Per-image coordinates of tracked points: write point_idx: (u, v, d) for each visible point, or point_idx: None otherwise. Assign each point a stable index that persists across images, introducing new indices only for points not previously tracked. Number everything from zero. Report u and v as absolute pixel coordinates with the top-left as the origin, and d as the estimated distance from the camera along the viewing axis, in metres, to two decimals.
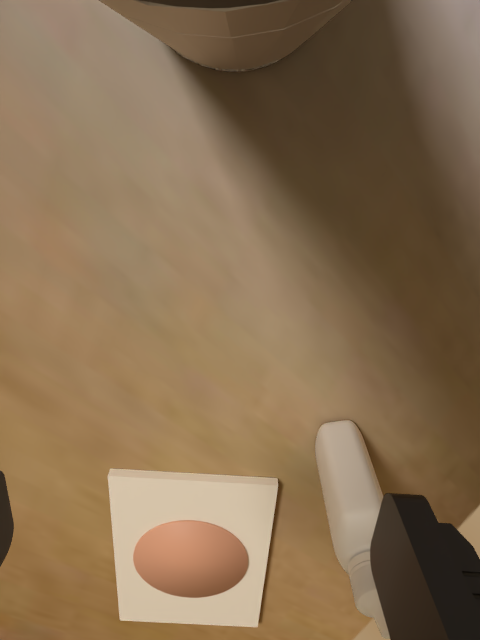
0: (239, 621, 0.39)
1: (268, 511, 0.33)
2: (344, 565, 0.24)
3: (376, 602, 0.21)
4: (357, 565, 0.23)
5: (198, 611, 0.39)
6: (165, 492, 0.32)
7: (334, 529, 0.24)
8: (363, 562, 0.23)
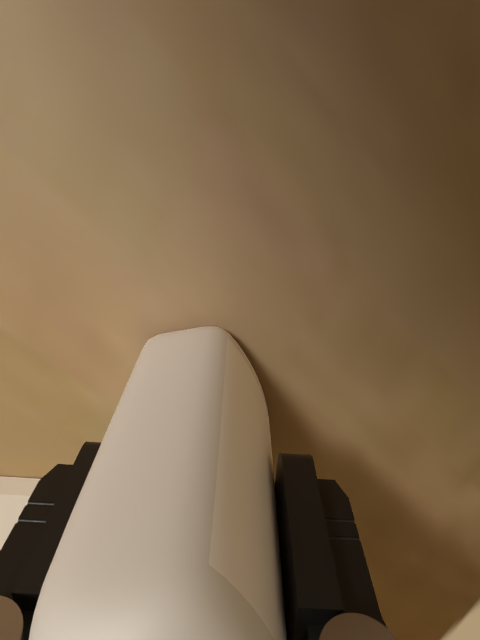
0: None
1: None
2: None
3: None
4: None
5: None
6: None
7: None
8: None
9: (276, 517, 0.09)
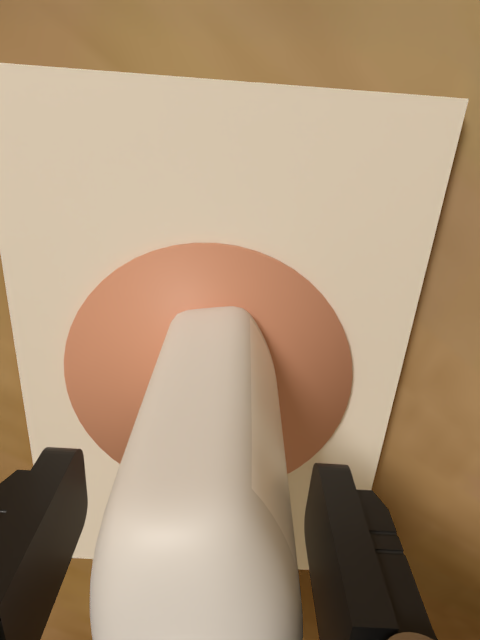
0: None
1: (426, 206, 0.12)
2: None
3: None
4: None
5: None
6: (141, 132, 0.11)
7: None
8: None
9: None
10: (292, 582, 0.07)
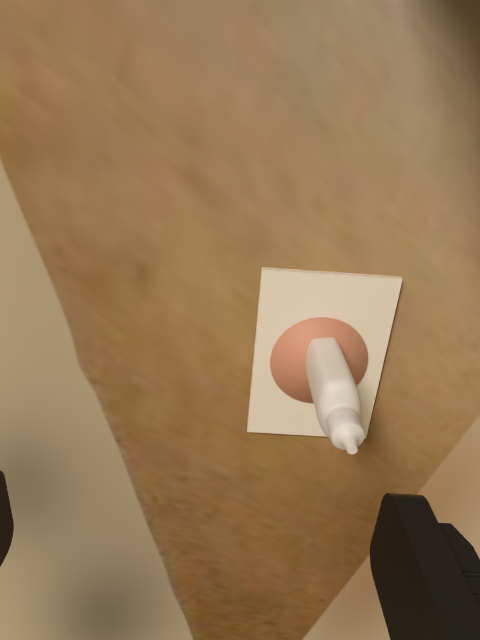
0: None
1: (391, 307, 0.39)
2: (323, 422, 0.34)
3: (344, 432, 0.31)
4: (333, 415, 0.33)
5: (316, 421, 0.45)
6: (307, 287, 0.39)
7: (318, 396, 0.35)
8: (338, 412, 0.33)
9: None
10: (359, 397, 0.34)
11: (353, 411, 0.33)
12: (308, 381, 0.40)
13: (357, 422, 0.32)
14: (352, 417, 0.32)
